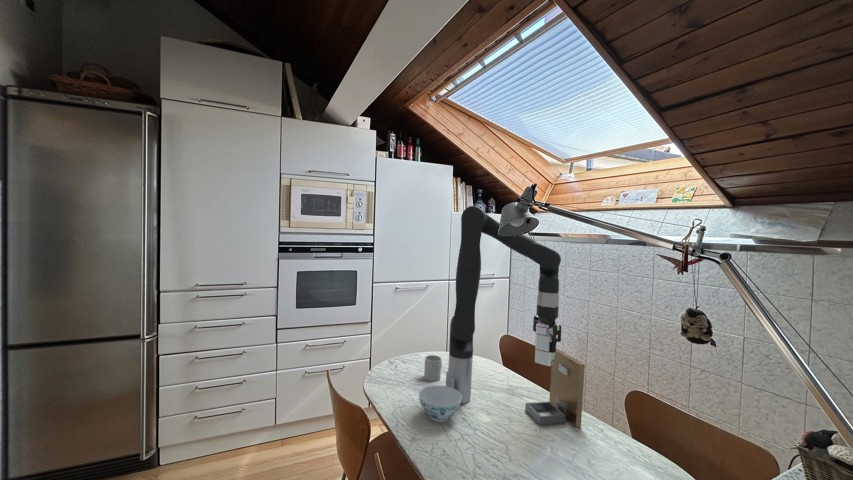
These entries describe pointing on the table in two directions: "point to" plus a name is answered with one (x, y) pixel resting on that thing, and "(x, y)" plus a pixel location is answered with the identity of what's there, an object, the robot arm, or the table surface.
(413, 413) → the table surface
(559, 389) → the wooden board with tray
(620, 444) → the table surface
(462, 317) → the robot arm
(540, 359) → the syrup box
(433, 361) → the cup
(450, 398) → the chinaware
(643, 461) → the table surface
